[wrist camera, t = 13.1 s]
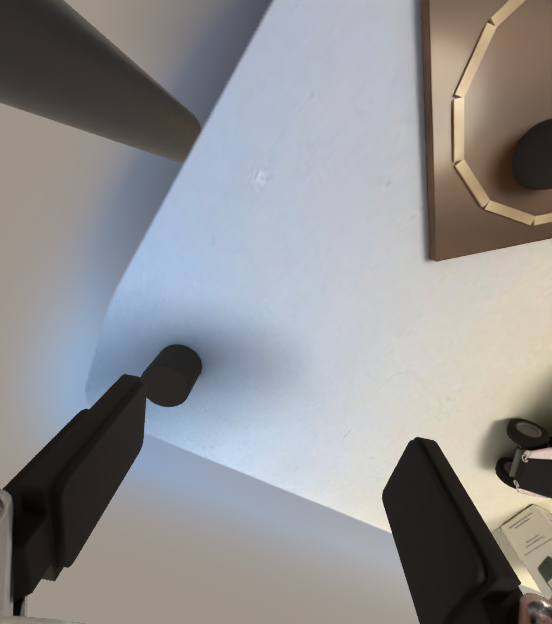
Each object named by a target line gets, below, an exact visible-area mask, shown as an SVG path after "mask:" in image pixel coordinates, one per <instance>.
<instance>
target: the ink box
mask: <svg viewBox="0 0 552 624" xmlns="http://www.w3.org/2000/svg"><path fill="white" fill-rule="evenodd" d="M501 530H502V531H503V533H504V534H505V536H506V537H507V539H508V541H509V542H510V544H511V545H512V547H513V548H514V550H515V551H516V553H517V555H518V556H519V558H520V559H521V561H522V562H523V564H524V566H525V567H526V569H527V570H528V572H529V573H530V575H531V577H532V578H533V580H534V581H535V583H536V584H537V586H538V587H539V589H540V591H541V592H542V594H543V595H544V597H545V598H546V599H547V600H548V601H550V602H551V603H552V513H550V512H548V511H546V510H544V509H542V508H540V507H539V506H537V505H531V506H530V507H529V508H527V509H526V510H524V511H523V512H521V513H520V514H518V515H517V516H516V517H514V518H513V519H512V520H510V521H509V522H507V523H506V524H504V525H503V526H502V527H501Z"/></svg>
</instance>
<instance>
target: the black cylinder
mask: <svg viewBox="0 0 552 624" xmlns="http://www.w3.org/2000/svg"><path fill="white" fill-rule="evenodd" d="M201 369H202V364H201V360H200V358H199V356H198V355H197V353H196V352H195V351H193V350H192V349H191V348H189V347H187V346H184V345H170V346H168V347H166V348H164V349H163V350H162V351H161V352H160V354H159V355H158V356H157V357H156V358H155V359H154V360H153V362H152V363H151V364H150V365H149V366H148V367H147V369H146V370H145V371H144V372H143V374H142V376H141V378H142V379H143V383H146V384H147V394H146V397H147V398H148V399H149V400H150V401H151V402H153V403H155V404H157V405H160V406H164V407H174V406H177V405H180V404H182V403H183V402H184V401H185V400H186V399H187V397H188V395H189V394H190V392H191V390H192V388H193V386H194V384H195V382H196V380H197V378H198V376H199V375H200V373H201Z"/></svg>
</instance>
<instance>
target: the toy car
mask: <svg viewBox="0 0 552 624" xmlns="http://www.w3.org/2000/svg"><path fill="white" fill-rule="evenodd" d="M507 435H508V436H509V438H510V439H511V440H512V441H514V442H515V443H516V444H518V445H520V447H521V448H520V449H518V448H517V451H516V454H515V457H514V459H511V458H502V459H500V460H498V462H497V463H496V467H495V470H496V474H497V476H498V477H499V478H500V480H501V481H503V482H504V483H505V484H507V485H508V486H510V487H512V488H514V489H517V491H518V492H520V493H523V494H527V495H530V496H535V497H544V498H552V434H550V435H549V434H548V433H547V431H546V430H545V429H544V428H542V427H541V426H539V425H538V424H536V423H533V422H531V421H528V420H524V419H513V420H511V421H510V422H509V423H508V425H507ZM549 436H550V437H549Z"/></svg>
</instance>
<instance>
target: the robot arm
mask: <svg viewBox="0 0 552 624" xmlns="http://www.w3.org/2000/svg"><path fill="white" fill-rule="evenodd" d="M146 394H147V384H146V383H143V379H142V378H141V377H137V376H132V375H127V374H123V375H122V376H121V377H120V378H119V379H118V380H117V381H116V382H115V383H114V384H113V385H112V386H111V387H110V388H109V390H108V391H107V392H106V393H105V394H104V395H103V396H102V397H101V398H100V399H99V400H98V401H97V402H96V403H95V404H94V405H93V406H92V407H91V408H90V409H84V410H82V411H80V412H79V413H78V414H77V415H76V416H75V417H74V418H73V419H72V420H71V421H70V422H69V423H68V424H67V425H66V426H65V427H64V428H63V429H62V430H61V431H60V432H59V433H58V434H57V435H56V436H55V437H54V438H53V439H52V440H51V441H50V442H49V443H48V444H47V445H46V446H45V447H44V448H43V449H42V450H41V451H40V452H39V453H38V454H37V455H36V456H35V457H34V458H33V459H32V460H31V461H30V462H29V463H28V464H27V465H26V466H25V467H24V468H23V469H22V470H21V471H20V472H19V473H18V474H17V475H16V476H15V477H14V478H13V479H12V480H11V481H10V482H9V483H8V484H7V485H6V486H5V487H4V488H3V489H2V490H1V489H0V624H83V623H76V622H70V621H63V620H56V619H47V618H35V617H27V595H29V594H31V593H32V592H33V591H34V589H35V588H36V586H37V584H38V583H39V581H40V580H41V579H46V580H51V581H55V580H56V579H57V577H58V576H59V573H60V572H61V571H62V569H63V567H67V568H68V567H70V566H71V565H72V564H73V562H74V561H75V559H76V558H77V556H78V554H79V553H80V551H81V549H82V547H83V546H84V544H85V543H86V541H87V539H88V537H89V536H90V534H91V532H92V531H93V529H94V527H95V526H96V524H97V522H98V521H99V519H100V517H101V516H102V514H103V512H104V511H105V509H106V507H107V506H108V504H109V502H110V500H111V499H112V497H113V496H114V494H115V492H116V491H117V489H118V487H119V485H120V484H121V482H122V480H123V479H124V477H125V476H126V474H127V472H128V470H129V469H130V467H131V465H132V464H133V462H134V460H135V459H136V457H137V455H138V454H139V452H140V450H141V447H142V444H143V438H144V423H145V408H146ZM382 500H383V504H384V508H385V511H386V514H387V518H388V521H389V524H390V527H391V531H392V534H393V537H394V541H395V544H396V547H397V550H398V553H399V557H400V560H401V563H402V567H403V570H404V573H405V577H406V580H407V583H408V586H409V590H410V593H411V596H412V599H413V603H414V606H415V609H416V613H417V616H418V619H419V622H420V624H552V603H551V602H550V601H548V600H547V599H545V598H544V597H541V596H539V595H537V594H532V593H526V594H524V595H523V594H522V592H521V590H520V589H519V587H518V586H519V585H520V584H521V582H520V580H519V579H518V577H517V575H516V574H515V572H514V570H513V569H512V567H511V565H510V564H509V562H508V560H507V559H506V557H505V555H504V554H503V552H502V550H501V549H500V547H499V545H498V544H497V542H496V540H495V539H494V537H493V535H492V534H491V532H490V530H489V529H488V527H487V525H486V524H485V522H484V520H483V519H482V517H481V515H480V514H479V512H478V510H477V509H476V507H475V505H474V504H473V502H472V500H471V499H470V497H469V495H468V494H467V492H466V490H465V489H464V487H463V485H462V484H461V482H460V480H459V479H458V477H457V475H456V474H455V472H454V470H453V469H452V467H451V465H450V464H449V462H448V460H447V459H446V457H445V456H444V454H443V452H442V451H441V449H440V447H439V446H438V444H437V443H436V442H435V441H434V440H430V439H425V438H420V437H416V438H415V439H414V440H411V441H410V442H409V443H408V445H407V447H406V449H405V451H404V452H403V454H402V456H401V458H400V460H399V462H398V464H397V466H396V467H395V469H394V471H393V473H392V475H391V477H390V479H389V481H388V483H387V484H386V486H385V488H384V490H383V494H382Z"/></svg>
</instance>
